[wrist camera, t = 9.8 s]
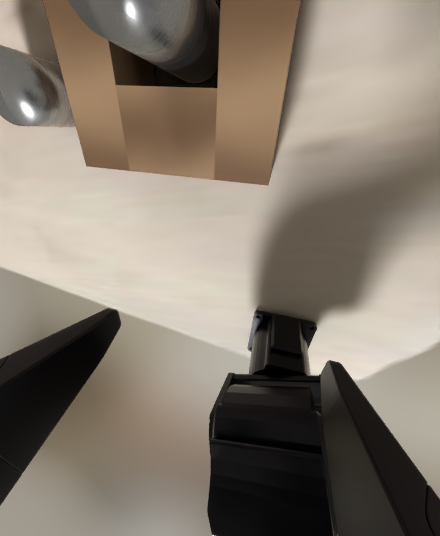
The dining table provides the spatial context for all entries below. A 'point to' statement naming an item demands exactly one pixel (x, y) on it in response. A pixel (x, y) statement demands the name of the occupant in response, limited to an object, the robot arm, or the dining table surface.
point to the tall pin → (160, 32)
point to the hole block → (181, 97)
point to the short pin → (33, 91)
